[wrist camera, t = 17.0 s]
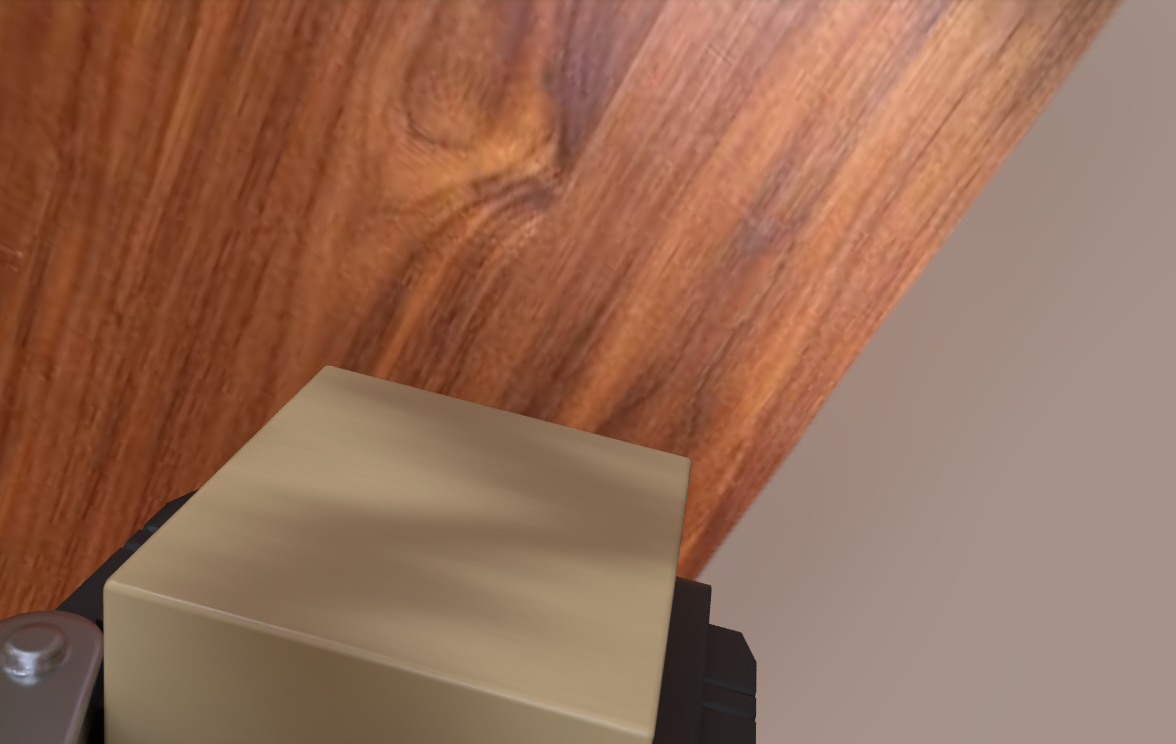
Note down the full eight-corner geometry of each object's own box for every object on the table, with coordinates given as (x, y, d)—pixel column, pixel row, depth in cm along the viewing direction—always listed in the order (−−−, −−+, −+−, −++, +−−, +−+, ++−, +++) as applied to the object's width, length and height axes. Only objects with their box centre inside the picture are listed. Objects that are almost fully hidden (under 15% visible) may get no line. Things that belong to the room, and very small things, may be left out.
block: (693, 456, 13) (654, 735, 8) (612, 739, 15) (548, 1084, 11) (325, 362, 13) (98, 582, 9) (296, 652, 15) (102, 950, 11)
